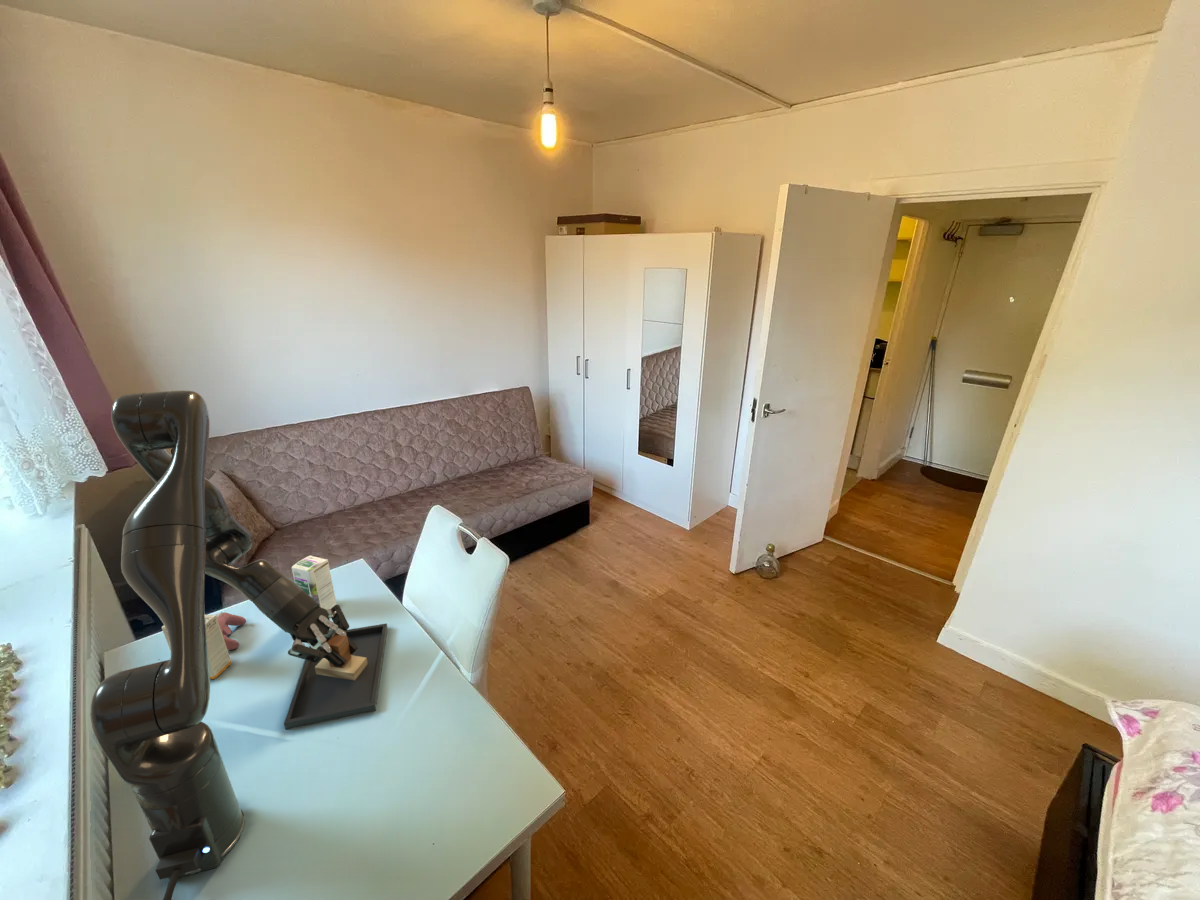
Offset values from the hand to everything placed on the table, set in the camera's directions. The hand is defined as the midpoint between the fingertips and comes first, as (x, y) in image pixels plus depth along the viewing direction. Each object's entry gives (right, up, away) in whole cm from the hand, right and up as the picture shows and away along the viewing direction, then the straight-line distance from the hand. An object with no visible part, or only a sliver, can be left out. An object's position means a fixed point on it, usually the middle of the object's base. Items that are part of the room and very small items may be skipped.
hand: (349, 657), depth 103 cm
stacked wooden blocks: (-2, -3, +2) cm, 4 cm away
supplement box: (-31, -3, +1) cm, 31 cm away
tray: (-2, -4, +1) cm, 5 cm away
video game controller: (-33, 0, +10) cm, 34 cm away
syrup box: (-17, +3, +19) cm, 26 cm away
